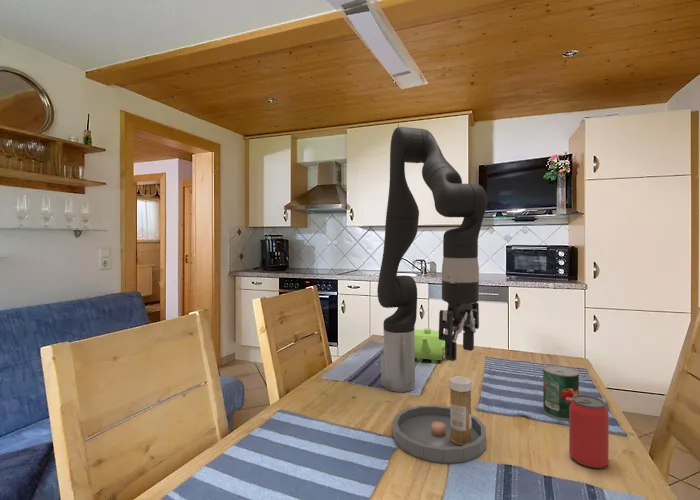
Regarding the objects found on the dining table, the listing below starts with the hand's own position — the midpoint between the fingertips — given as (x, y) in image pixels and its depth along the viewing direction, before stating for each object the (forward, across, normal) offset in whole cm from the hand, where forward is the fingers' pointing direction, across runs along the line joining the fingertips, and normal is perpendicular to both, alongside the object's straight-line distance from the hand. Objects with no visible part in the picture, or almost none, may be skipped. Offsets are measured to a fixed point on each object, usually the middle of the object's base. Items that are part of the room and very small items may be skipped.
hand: (459, 354), depth 81 cm
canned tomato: (+20, -30, +13) cm, 38 cm away
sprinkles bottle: (+19, 0, 0) cm, 19 cm away
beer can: (+20, -11, +22) cm, 31 cm away
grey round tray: (+20, 0, -5) cm, 20 cm away
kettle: (+20, -47, -34) cm, 62 cm away
